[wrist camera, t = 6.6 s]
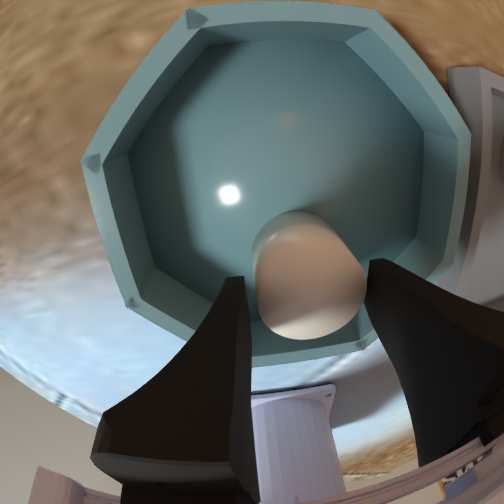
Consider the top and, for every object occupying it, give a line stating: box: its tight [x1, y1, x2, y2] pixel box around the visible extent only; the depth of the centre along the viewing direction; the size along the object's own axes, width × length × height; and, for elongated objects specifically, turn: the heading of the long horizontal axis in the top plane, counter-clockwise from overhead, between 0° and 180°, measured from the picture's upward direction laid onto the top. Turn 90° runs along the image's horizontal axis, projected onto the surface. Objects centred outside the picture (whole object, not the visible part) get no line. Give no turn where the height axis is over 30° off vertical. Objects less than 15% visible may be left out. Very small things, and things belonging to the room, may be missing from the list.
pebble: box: [252, 211, 367, 340], centre depth 11 cm, size 4×4×4 cm
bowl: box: [80, 1, 472, 368], centre depth 11 cm, size 15×15×3 cm
